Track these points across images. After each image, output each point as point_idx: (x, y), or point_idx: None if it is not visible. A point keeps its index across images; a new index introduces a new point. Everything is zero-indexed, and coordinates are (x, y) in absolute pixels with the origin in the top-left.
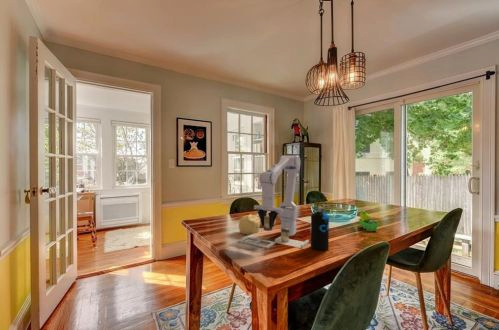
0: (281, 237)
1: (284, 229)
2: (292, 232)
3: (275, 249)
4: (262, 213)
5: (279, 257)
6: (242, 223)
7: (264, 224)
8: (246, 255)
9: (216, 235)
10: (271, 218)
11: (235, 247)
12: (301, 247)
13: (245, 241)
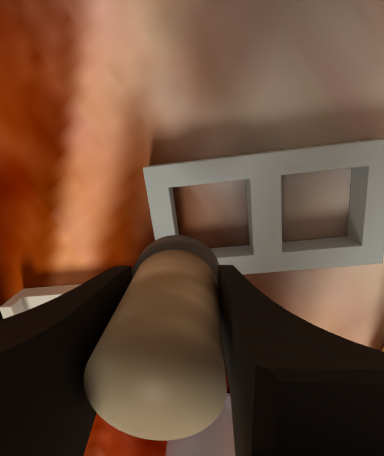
0: None
1: None
2: (167, 445)
3: (139, 229)
4: (247, 400)
5: (48, 137)
6: None
7: (194, 270)
8: (214, 13)
9: None
10: (11, 320)
11: (367, 87)
12: (16, 299)
13: (337, 166)
